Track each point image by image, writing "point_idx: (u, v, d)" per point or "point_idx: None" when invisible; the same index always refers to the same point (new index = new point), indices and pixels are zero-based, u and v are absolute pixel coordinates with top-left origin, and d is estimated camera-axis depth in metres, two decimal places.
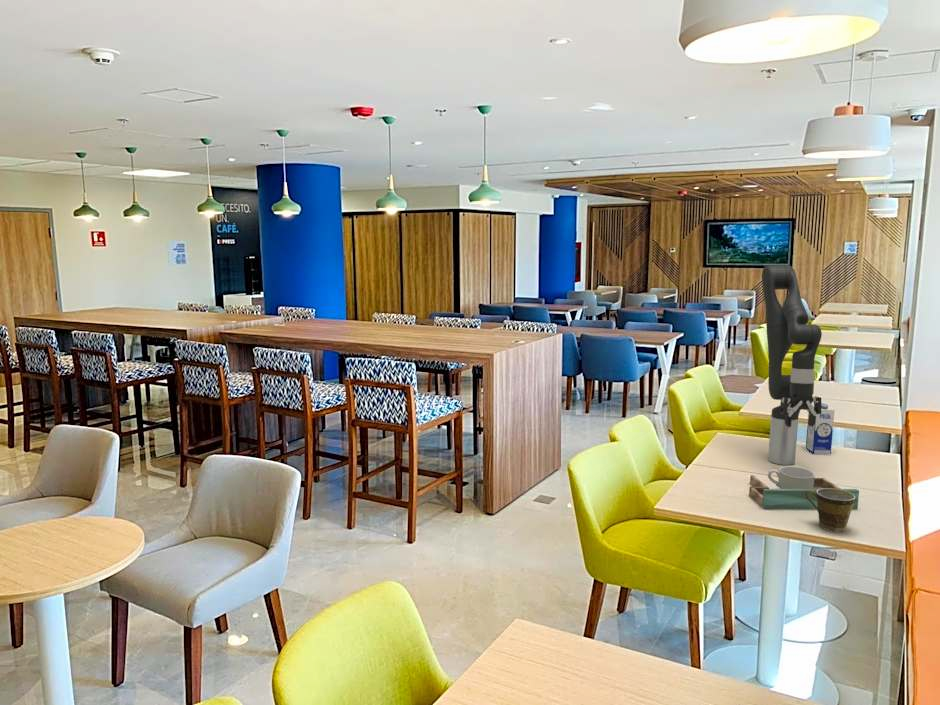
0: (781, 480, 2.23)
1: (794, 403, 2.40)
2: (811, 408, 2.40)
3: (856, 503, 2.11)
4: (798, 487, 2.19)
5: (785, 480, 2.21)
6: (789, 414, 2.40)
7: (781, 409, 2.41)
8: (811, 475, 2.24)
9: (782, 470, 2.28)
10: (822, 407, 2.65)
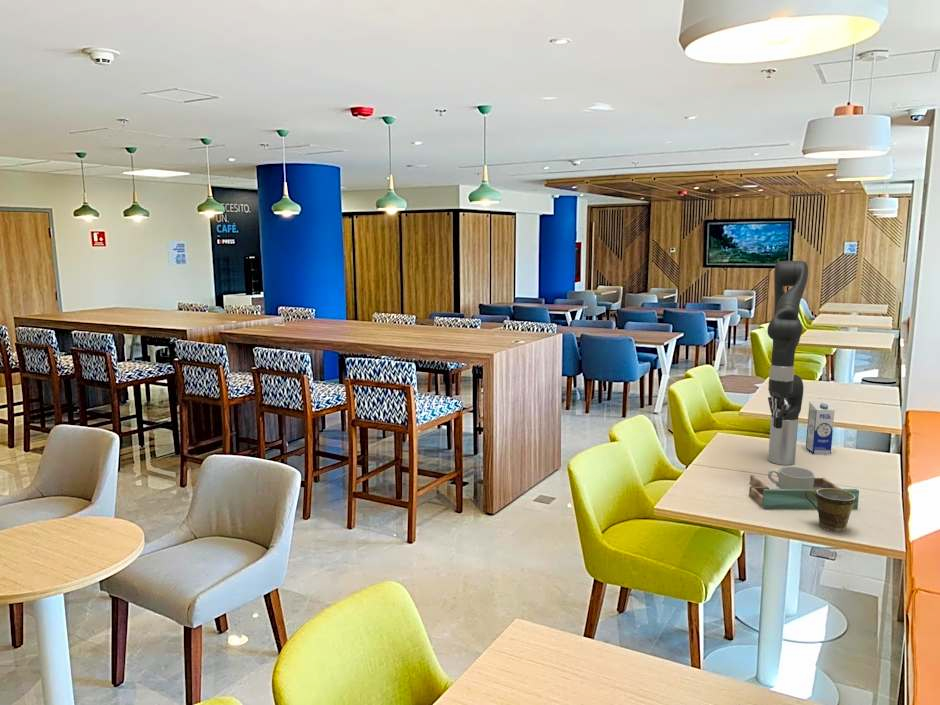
0: (781, 480, 2.23)
1: None
2: None
3: (856, 503, 2.11)
4: (798, 487, 2.19)
5: (785, 480, 2.21)
6: None
7: None
8: (811, 475, 2.24)
9: (782, 470, 2.28)
10: (822, 407, 2.65)
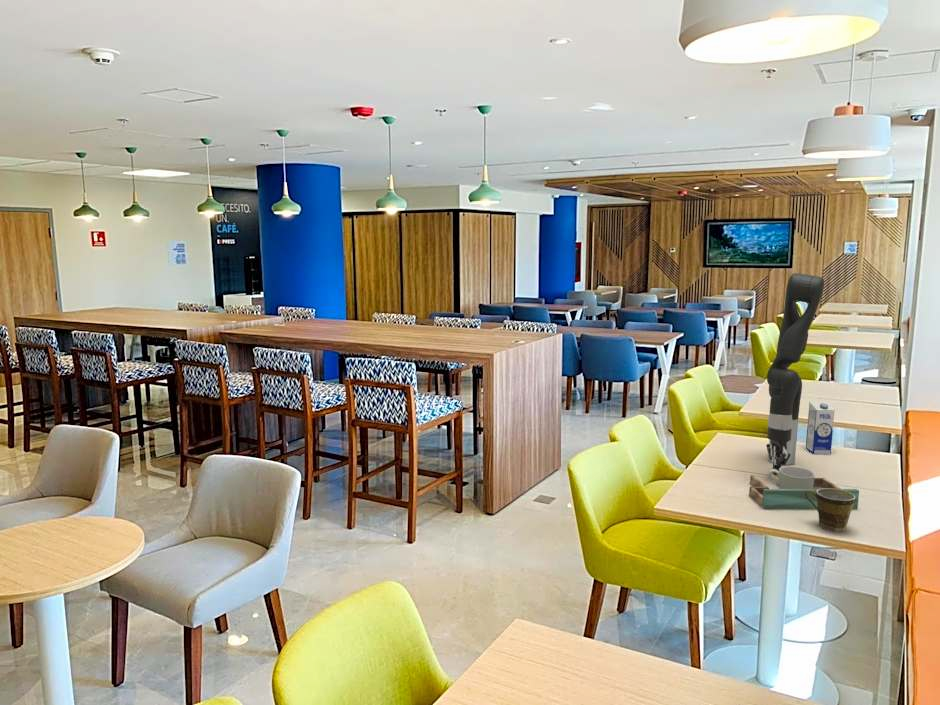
0: (781, 480, 2.23)
1: None
2: None
3: (856, 503, 2.11)
4: (798, 487, 2.19)
5: (785, 480, 2.21)
6: None
7: None
8: (811, 475, 2.24)
9: (782, 470, 2.28)
10: (822, 407, 2.65)
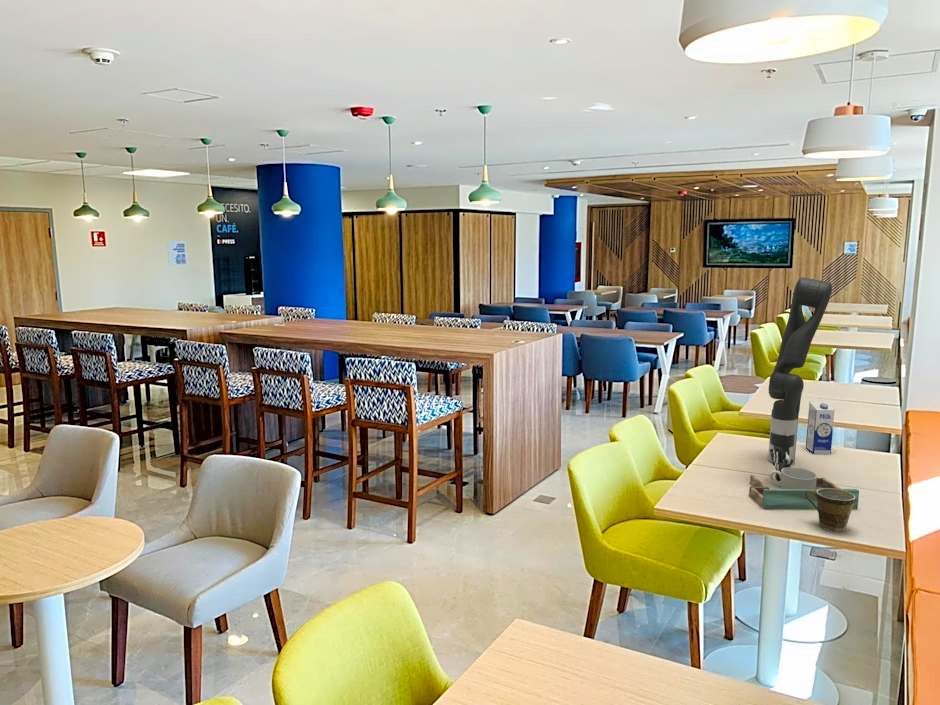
0: (783, 481, 2.22)
1: None
2: None
3: (856, 503, 2.11)
4: (800, 488, 2.18)
5: (787, 481, 2.20)
6: None
7: None
8: (813, 476, 2.22)
9: (784, 471, 2.26)
10: (822, 407, 2.65)
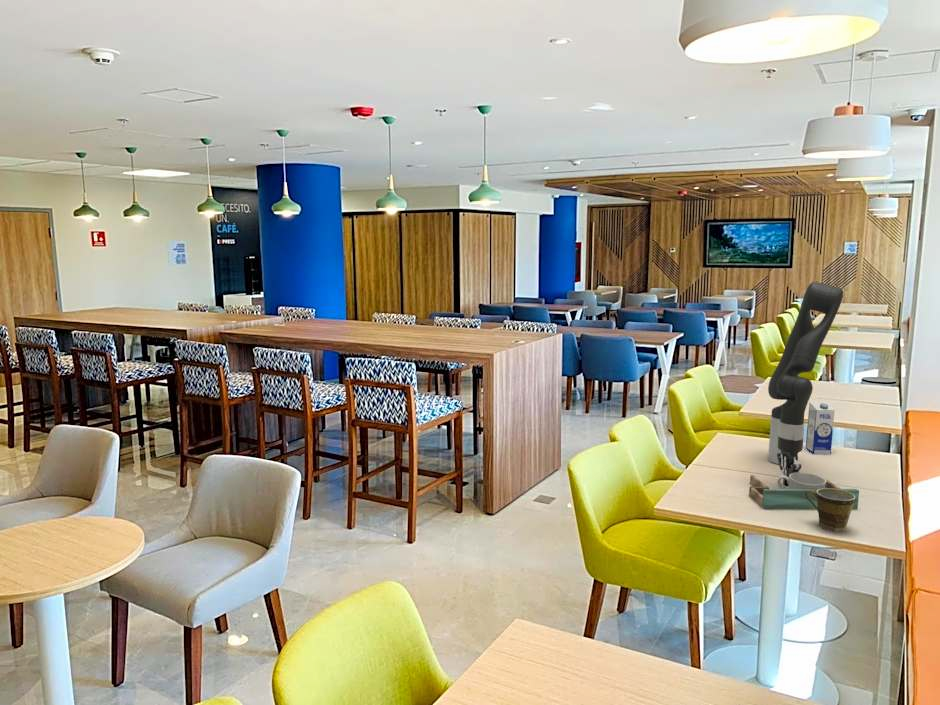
0: (791, 487, 2.17)
1: None
2: None
3: (856, 503, 2.11)
4: None
5: (795, 487, 2.15)
6: None
7: None
8: (822, 482, 2.17)
9: (792, 476, 2.21)
10: (822, 407, 2.65)
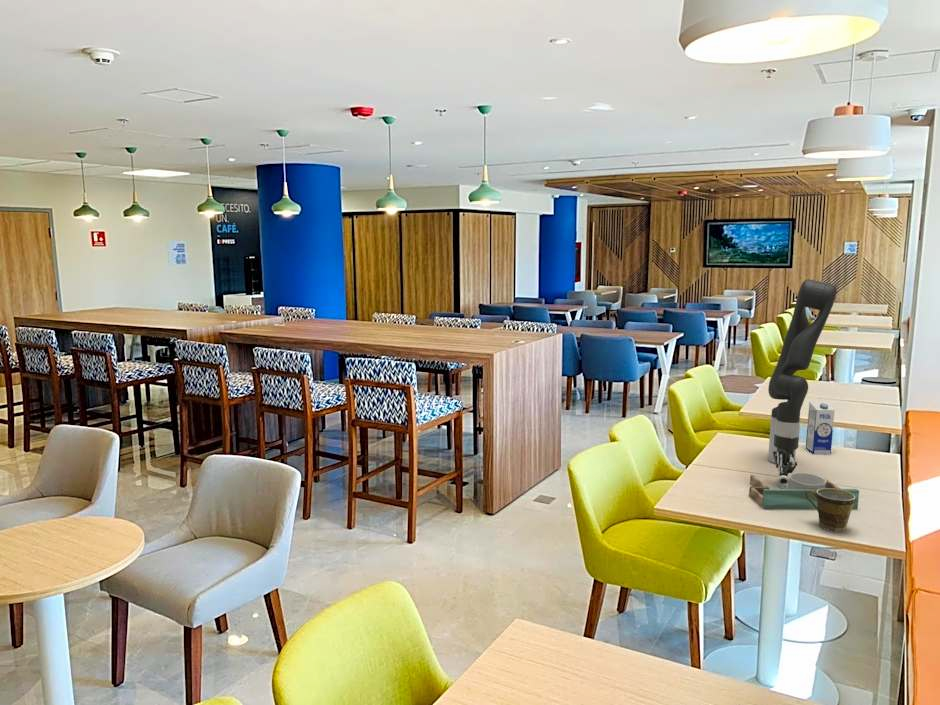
0: (791, 487, 2.17)
1: None
2: None
3: (856, 503, 2.11)
4: None
5: (795, 487, 2.15)
6: None
7: None
8: (822, 482, 2.17)
9: (792, 476, 2.21)
10: (822, 407, 2.65)
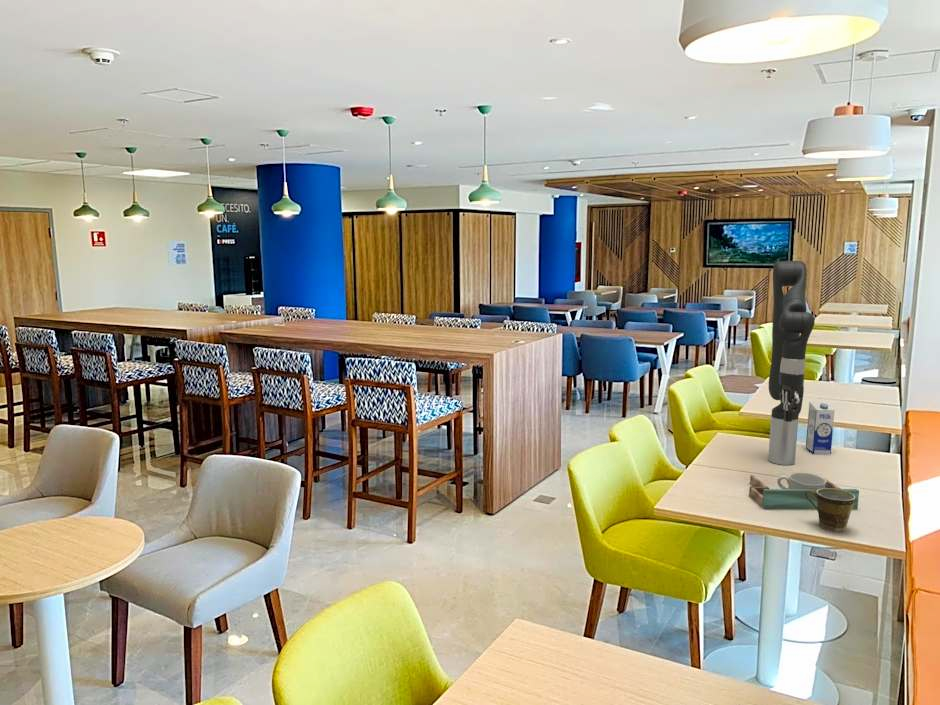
0: (791, 487, 2.17)
1: None
2: None
3: (856, 503, 2.11)
4: None
5: (795, 487, 2.15)
6: None
7: None
8: (822, 482, 2.17)
9: (792, 476, 2.21)
10: (822, 407, 2.65)
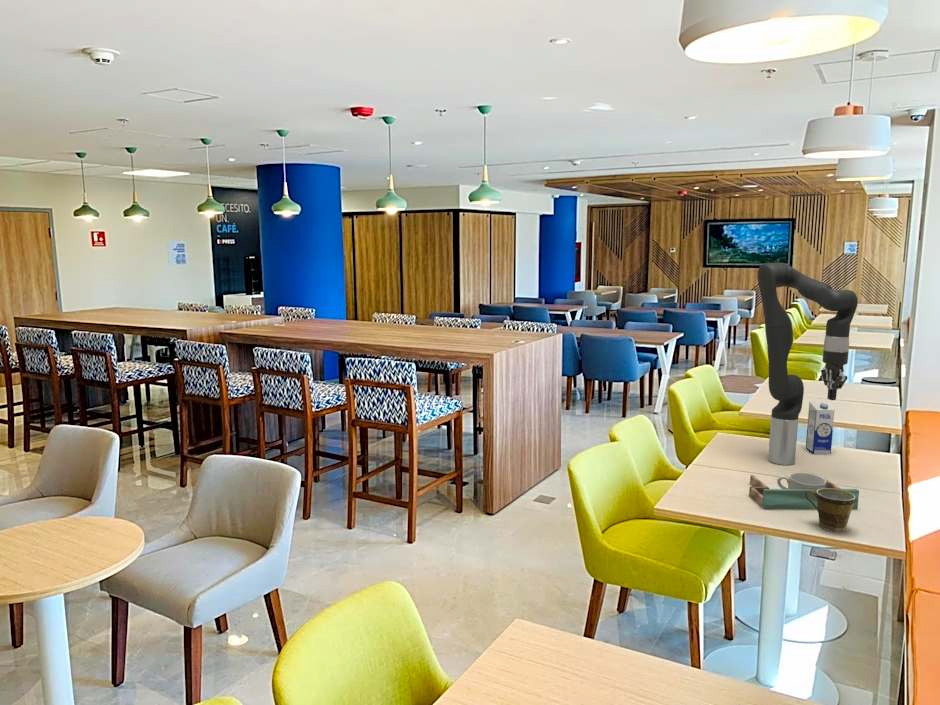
0: (791, 487, 2.17)
1: None
2: None
3: (856, 503, 2.11)
4: None
5: (795, 487, 2.15)
6: None
7: None
8: (822, 482, 2.17)
9: (792, 476, 2.21)
10: (822, 407, 2.65)
